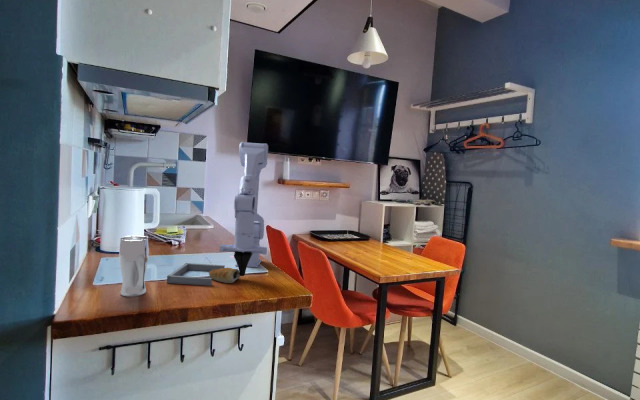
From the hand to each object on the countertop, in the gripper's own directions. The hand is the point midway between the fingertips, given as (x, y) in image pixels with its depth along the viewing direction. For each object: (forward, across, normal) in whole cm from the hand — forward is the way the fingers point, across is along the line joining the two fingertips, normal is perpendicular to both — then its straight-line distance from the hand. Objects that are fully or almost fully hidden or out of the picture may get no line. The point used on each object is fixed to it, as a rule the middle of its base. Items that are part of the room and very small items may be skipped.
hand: (242, 275), depth 115 cm
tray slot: (+1, -14, 0) cm, 14 cm away
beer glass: (+2, -26, -17) cm, 31 cm away
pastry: (+2, -5, -1) cm, 6 cm away
